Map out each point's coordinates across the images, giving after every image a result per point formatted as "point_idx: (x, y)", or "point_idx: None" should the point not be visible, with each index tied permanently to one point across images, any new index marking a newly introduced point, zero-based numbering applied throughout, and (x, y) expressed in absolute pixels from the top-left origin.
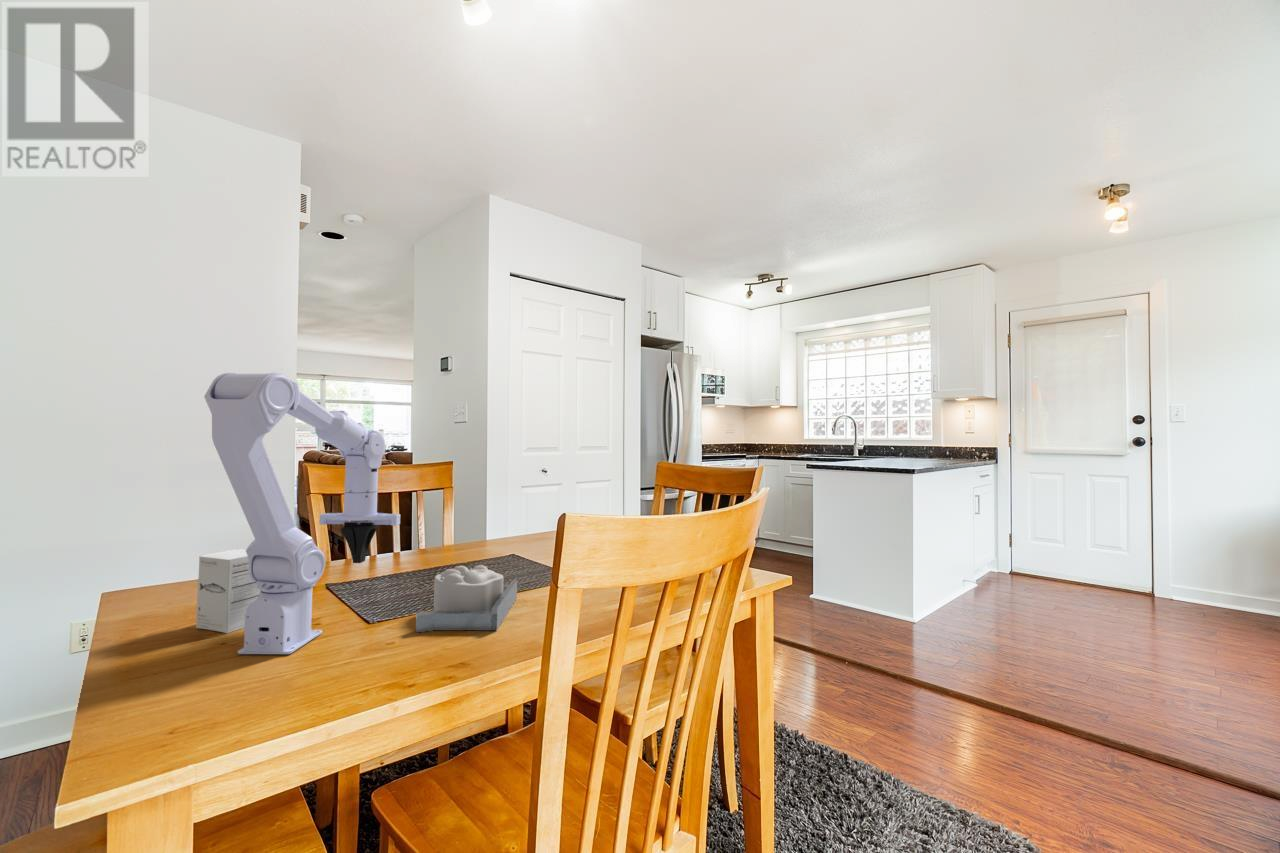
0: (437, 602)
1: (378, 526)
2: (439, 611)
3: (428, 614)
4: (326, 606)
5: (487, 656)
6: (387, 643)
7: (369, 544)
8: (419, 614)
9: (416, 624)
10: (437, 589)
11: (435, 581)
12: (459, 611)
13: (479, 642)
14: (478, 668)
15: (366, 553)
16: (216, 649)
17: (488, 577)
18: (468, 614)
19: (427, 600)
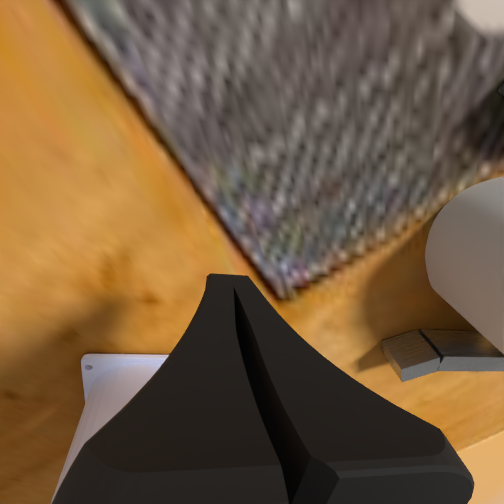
0: (457, 306)
1: (457, 463)
2: (449, 360)
3: (424, 374)
4: (75, 135)
5: (471, 420)
6: None
7: (294, 332)
8: (407, 375)
9: (390, 361)
10: (484, 329)
11: (499, 326)
12: (488, 360)
13: (475, 383)
14: None
15: (263, 296)
16: (25, 416)
17: None
18: (499, 369)
19: (425, 101)
